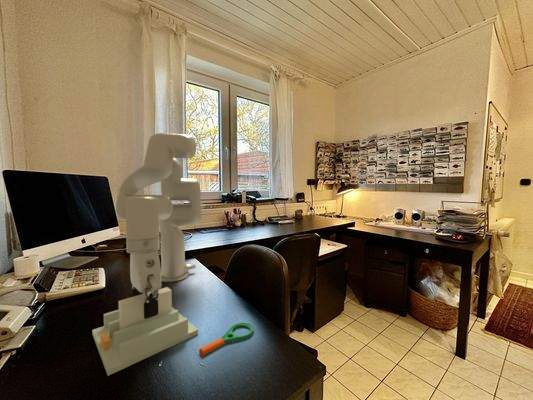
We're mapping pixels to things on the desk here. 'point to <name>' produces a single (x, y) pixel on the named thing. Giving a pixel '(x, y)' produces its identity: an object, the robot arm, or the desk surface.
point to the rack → (139, 338)
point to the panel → (142, 308)
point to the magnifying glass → (227, 338)
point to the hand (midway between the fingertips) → (144, 309)
